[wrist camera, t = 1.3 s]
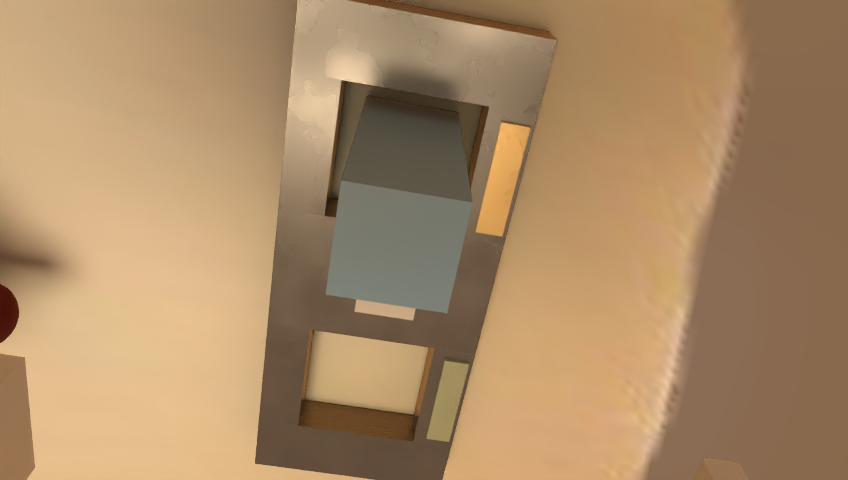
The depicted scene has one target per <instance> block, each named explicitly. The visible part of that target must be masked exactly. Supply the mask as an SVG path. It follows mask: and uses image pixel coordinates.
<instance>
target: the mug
mask: <svg viewBox="0 0 848 480" xmlns="http://www.w3.org/2000/svg"><path fill="white" fill-rule="evenodd" d="M18 318H19V308H18V303H17V300H16V298H15V297H14V295H13V293H12V292H11V291H10V290H9V289H8V288H6V287H5V286H3V285H1V284H0V343H1V342H3V341H4V340H5V339H6V338H7V337H8V336H9V335H10V334H11V333H12V331H13V330H14V328H15V327H16V324H17V321H18Z"/></svg>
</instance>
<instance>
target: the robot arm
mask: <svg viewBox="0 0 848 480" xmlns="http://www.w3.org/2000/svg"><path fill="white" fill-rule="evenodd" d="M34 468H35V463H34V452H33V441H32V430H31V420H30V409H29V398H28V388H27V377H26V366H25V357H18V356H11V355H5V354H0V480H27V478H28V477H29V475H30V474H31V472H32V471H33V470H34ZM692 480H748V478H747V476H746V475H745V473H744V471H743V469H742V467H741V466H740V464H739V463H735V462H728V461H721V460H714V459H707V458H702V460H701V462H700V464H699V466H698V468H697V470H696V472H695V475H694V476H693V479H692Z"/></svg>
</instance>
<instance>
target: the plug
mask: <svg viewBox="0 0 848 480" xmlns="http://www.w3.org/2000/svg"><path fill="white" fill-rule="evenodd" d="M472 204H473V201H472V195H471V189H470V183H469V177H468V171H467V165H466V158H465V152H464V146H463V140H462V134H461V128H460V121H459V115H458V112H453V111H447V110H442V109H436V108H431V107H425V106H419V105H414V104H408V103H403V102H397V101H391V100H386V99H380V98H375V97H369V96H367V98H366V101H365V104H364V108H363V111H362V114H361V117H360V120H359V124H358V127H357V130H356V133H355V137H354V140H353V143H352V146H351V150H350V153H349V156H348V159H347V162H346V166H345V169H344V172H343V175H342V179H341V183H340V191H339V198H338V206H337V213H336V221H335V228H334V236H333V243H332V250H331V258H330V265H329V273H328V280H327V288H326V295H332V296H338V297H345V298H351V299H356V305H355V311H354V312H360V313H367V314H373V315H380V316H387V317H393V318H400V319H406V320H413V319H414V314H415V309H422V310H429V311H435V312H442V313H447V312H448V307H449V303H450V299H451V294H452V290H453V286H454V281H455V277H456V273H457V268H458V264H459V260H460V255H461V251H462V247H463V242H464V238H465V234H466V229H467V225H468V221H469V217H470V212H471V208H472Z"/></svg>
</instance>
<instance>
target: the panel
mask: <svg viewBox="0 0 848 480" xmlns="http://www.w3.org/2000/svg"><path fill="white" fill-rule="evenodd" d="M556 43H557V39H556V38H555V37H554V36H553V35H552V34H551V33H550V32H547V31H542V30H537V29H532V28H526V27H521V26H516V25H511V24H505V23H500V22H495V21H490V20H484V19H479V18H474V17H469V16H463V15H458V14H453V13H447V12H442V11H437V10H432V9H426V8H421V7H416V6H411V5H405V4H400V3H395V2H390V1H384V0H298V1H297V12H296V23H295V34H294V45H293V56H292V67H291V77H290V88H289V99H288V110H287V121H286V132H285V143H284V154H283V164H282V175H281V186H280V197H279V208H278V219H277V230H276V241H275V251H274V262H273V273H272V284H271V295H270V306H269V317H268V328H267V338H266V349H265V360H264V371H263V382H262V393H261V404H260V415H259V425H258V436H257V447H256V458H255V464H263V465H270V466H278V467H285V468H293V469H300V470H308V471H315V472H322V473H330V474H337V475H345V476H352V477H360V478H367V479H375V480H442V479H443V475H444V471H445V467H446V464H447V460H448V456H449V452H450V448H451V445H452V441H453V437H454V433H455V429H456V425H457V422H458V418H459V414H460V410H461V406H462V403H463V399H464V395H465V391H466V387H467V383H468V380H469V376H470V372H471V368H472V364H473V361H474V357H475V353H476V349H477V345H478V341H479V338H480V334H481V330H482V326H483V322H484V318H485V315H486V311H487V307H488V303H489V299H490V296H491V292H492V288H493V284H494V280H495V276H496V273H497V269H498V265H499V261H500V257H501V254H502V250H503V246H504V242H505V238H506V234H507V231H508V227H509V223H510V219H511V215H512V212H513V208H514V204H515V200H516V196H517V192H518V189H519V185H520V181H521V177H522V173H523V170H524V166H525V162H526V158H527V154H528V150H529V147H530V143H531V139H532V135H533V131H534V128H535V124H536V120H537V116H538V112H539V108H540V105H541V101H542V97H543V93H544V89H545V85H546V82H547V78H548V74H549V70H550V66H551V63H552V59H553V55H554V51H555V47H556ZM345 81H350V82H356V83H361V84H367V85H373V86H378V87H384V88H389V89H395V90H400V91H406V92H412V93H417V94H423V95H428V96H434V97H439V98H445V99H450V100H456V101H462V102H467V103H473V104H478V105H483V108H482V112H481V117H480V121H479V126H478V130H477V135H476V139H475V144H474V148H473V153H472V157H471V161H470V166H469V170H468V177H469V183H470V189H471V195H472V201H473V204H472V208H471V212H470V217H469V221H468V225H467V229H466V234H465V238H464V242H463V247H462V251H461V255H460V260H459V264H458V268H457V273H456V277H455V281H454V286H453V290H452V294H451V299H450V303H449V307H448V312H447V313H442V312H435V311H429V310H422V309H415V314H414V319H413V320H406V319H400V318H393V317H387V316H380V315H373V314H367V313H360V312H354V311H355V305H356V299H351V298H345V297H338V296H332V295H326V288H327V280H328V273H329V265H330V258H331V250H332V243H333V236H334V228H335V221H336V213H337V206H338V199H333V198H330V197H331V189H332V181H333V173H334V165H335V158H336V150H337V142H338V134H339V127H340V119H341V111H342V103H343V95H344V88H345ZM313 330H317V331H324V332H330V333H337V334H344V335H350V336H357V337H364V338H370V339H377V340H384V341H390V342H397V343H404V344H410V345H417V346H424V347H429V350H428V354H427V359H426V363H425V368H424V372H423V376H422V381H421V385H420V390H419V394H418V399H417V403H416V408H415V412H414V416H413V415H406V414H399V413H392V412H385V411H378V410H371V409H364V408H357V407H350V406H343V405H336V404H329V403H321V402H314V401H307V400H304V399H305V391H306V383H307V376H308V368H309V360H310V352H311V344H312V337H313Z"/></svg>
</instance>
